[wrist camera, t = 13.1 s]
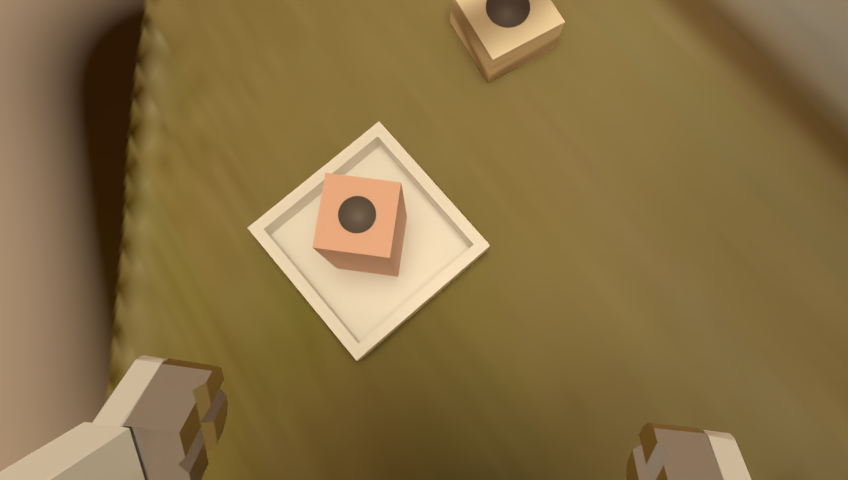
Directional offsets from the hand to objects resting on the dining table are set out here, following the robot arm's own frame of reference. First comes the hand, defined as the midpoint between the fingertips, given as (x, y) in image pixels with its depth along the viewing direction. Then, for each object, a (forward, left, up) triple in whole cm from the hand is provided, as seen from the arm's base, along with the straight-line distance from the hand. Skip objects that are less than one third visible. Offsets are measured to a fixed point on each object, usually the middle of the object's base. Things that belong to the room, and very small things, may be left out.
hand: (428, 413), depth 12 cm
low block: (+16, -21, -32) cm, 41 cm away
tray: (+10, -3, -31) cm, 33 cm away
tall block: (+9, -3, -31) cm, 32 cm away
